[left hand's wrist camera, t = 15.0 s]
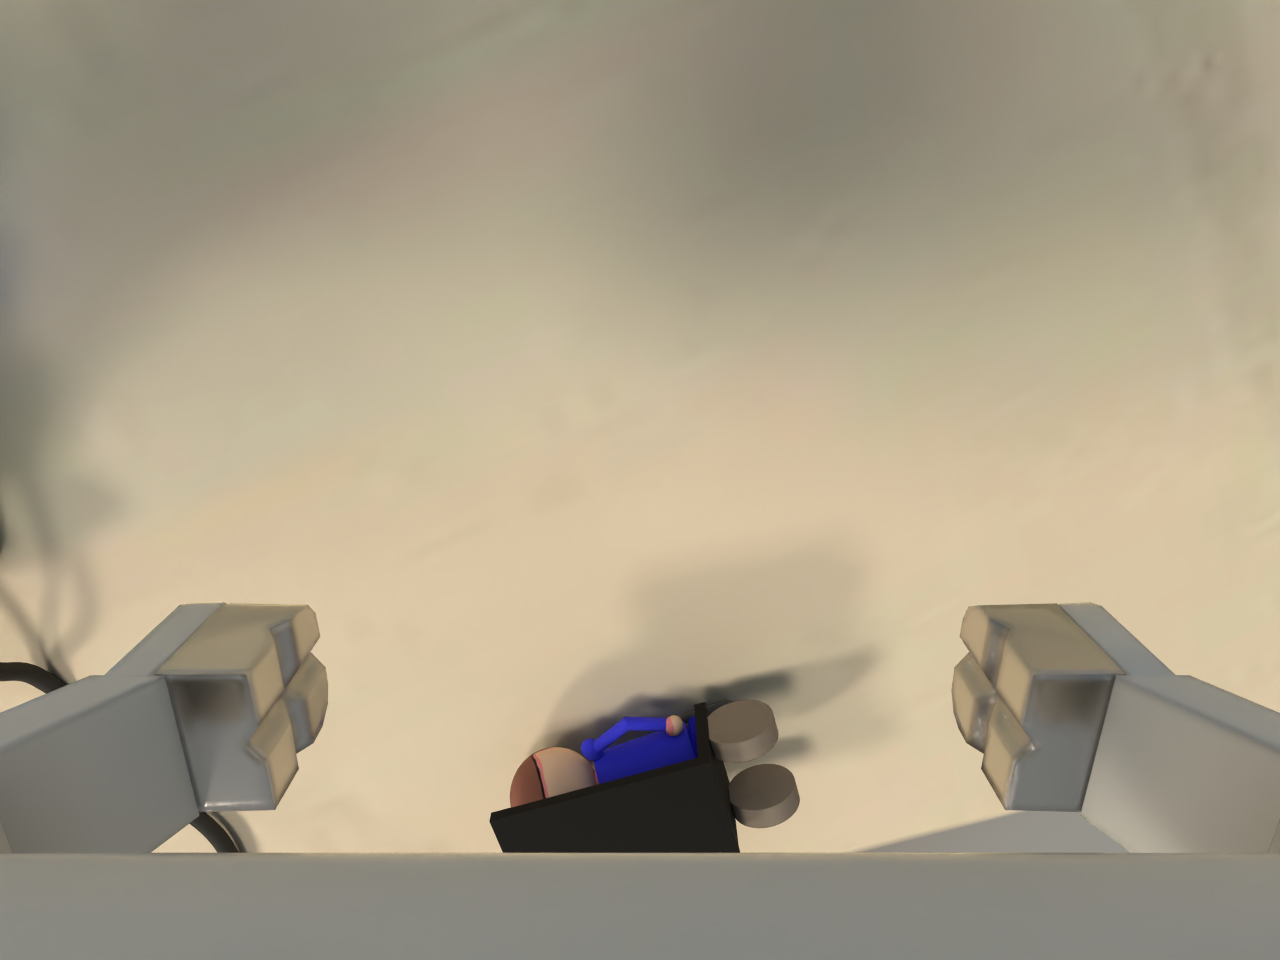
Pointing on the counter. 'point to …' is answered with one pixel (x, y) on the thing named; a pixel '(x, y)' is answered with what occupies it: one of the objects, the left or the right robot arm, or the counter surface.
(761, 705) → the figurine character
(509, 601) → the counter surface
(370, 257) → the counter surface
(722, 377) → the counter surface
